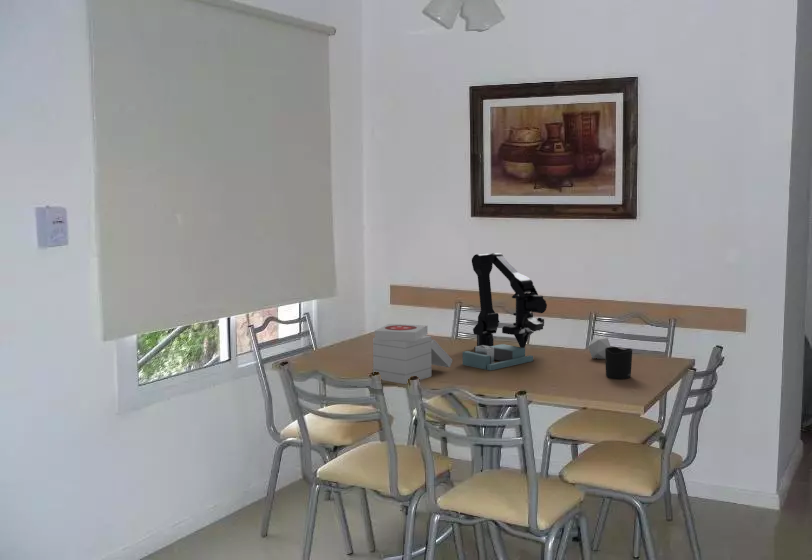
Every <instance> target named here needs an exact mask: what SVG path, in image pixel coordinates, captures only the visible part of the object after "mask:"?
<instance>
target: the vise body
mask: <svg viewBox="0 0 812 560" xmlns="http://www.w3.org/2000/svg"><path fill="white" fill-rule="evenodd" d="M529 362H534V356H533V355H525V357H520V358H515V359H511V360H506V361H498V362H494V363H492V364H491V356H490V355H485V354H480V353H475V352H474V351H468V350H465V351H462V366H467V367H472V368H477V369H481V370H487V371H495V370H499V369H500V370H501V369H504V368H508V367H513V366H517V365H522V364H526V363H529Z"/></svg>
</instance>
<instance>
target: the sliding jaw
mask: <svg viewBox="0 0 812 560" xmlns="http://www.w3.org/2000/svg"><path fill="white" fill-rule="evenodd" d="M490 347H494V361H495V360H496V361H499V362H502V361H506V360H511V359H515V358H520V357H525V356H526V347H525V348H521V347H520V346H515V345H508V344H505V343H502V344H501V343H500V344H495V345H493V346H490Z"/></svg>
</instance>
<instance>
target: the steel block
mask: <svg viewBox="0 0 812 560" xmlns="http://www.w3.org/2000/svg"><path fill="white" fill-rule="evenodd" d="M474 347H475V348H474V349H475V353H480V354H485V355H490V356H491V364H492V363H495V359H494V347H490V346H485V345H481V346H477V345H475V346H474Z"/></svg>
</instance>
